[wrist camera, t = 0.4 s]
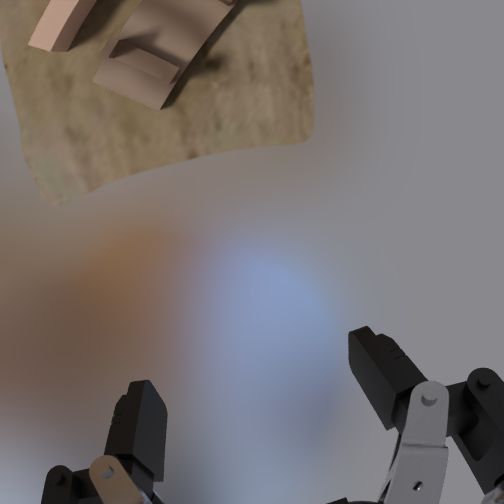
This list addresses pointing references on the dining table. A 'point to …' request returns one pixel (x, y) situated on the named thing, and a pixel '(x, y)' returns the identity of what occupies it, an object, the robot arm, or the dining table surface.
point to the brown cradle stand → (158, 47)
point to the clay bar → (60, 24)
